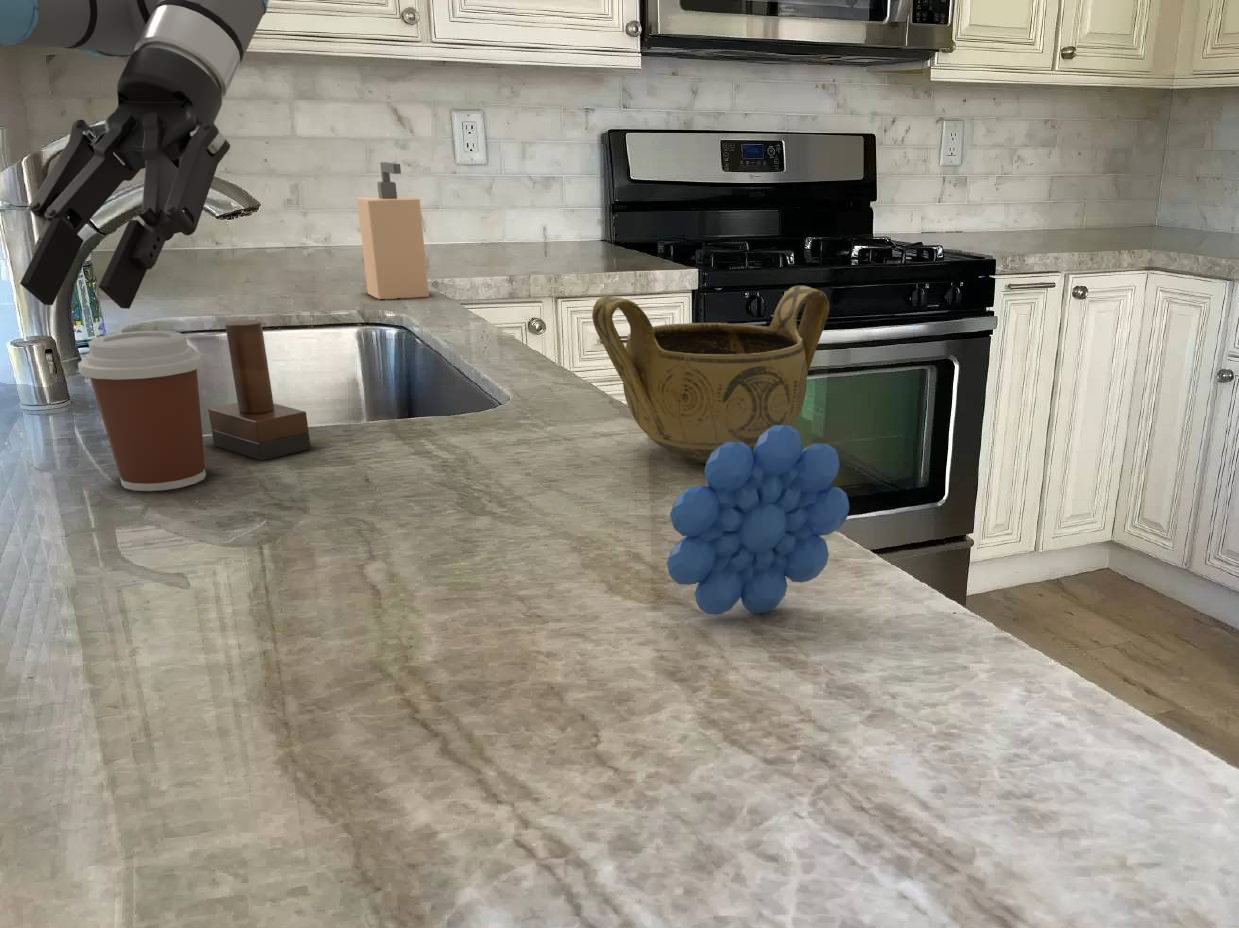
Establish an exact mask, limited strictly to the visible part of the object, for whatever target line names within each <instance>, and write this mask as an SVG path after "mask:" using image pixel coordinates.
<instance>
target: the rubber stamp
mask: <svg viewBox="0 0 1239 928" xmlns="http://www.w3.org/2000/svg"><path fill="white" fill-rule="evenodd" d="M224 326H225V333H226V337H227V338H226V339H227V345H228V352H229V357H230V365H231V369H232V376H233V383H234V389H235V393H236V401H237V402H235V403H229V404H224V405H219V406H214V407H209V408H207V412H208V416H209V417H208V418H209V423H210V429H211V435H212V439H213V440H212V441H213V445H214V447H217V448H220V449H223V450H227V451H230V452H232V453H236V454H240V455H243V456H245V457H249V458H251V459H256V460H258V461H268V460H272V459H275V458H279V457H284V456H288V455H292V454H296V453H301V452H304V451H309V450H311V449H312V446H311V440H310V433H309V424H308V416H307V411H305V410H301V409H297V408H293V407H289V406H286V405H285V406H284V405H281V404H277V403H274V398H273V390H272V384H271V383H272V382H271V378H270V371H269V365H268V356H267V351H266V344H265V336H264V331H263V323H262V321H261V320H258V319H239V320H231V321H227V322H225V324H224Z"/></svg>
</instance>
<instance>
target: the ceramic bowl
mask: <svg viewBox="0 0 1239 928" xmlns="http://www.w3.org/2000/svg"><path fill="white" fill-rule="evenodd" d="M804 305H805V306H804ZM803 307H804V309H803V312H802V316H801V319H800V323H799V324H798V321H797V319H798V316H799V313H800V311H801V310H802V308H803ZM617 309H619V310H620V311H621V313H622V314H623V315H624V317H625V319H626V321H627V323H628V325H629V328H630V329H629V330H630V333H628V334H627V337H626V344H624V343H623V341H622V339H621V336H620V335H619V333H618V331H617V328H616V326H615V324H614V321H613V316H614V313H615V312H616V310H617ZM829 313H830V301H829V299H828V297H827V296H826V293H824V292H823V291H822V290H819V289H816V288H813V287H811V286H806V285H795V286H794V285H793V286H792V287H790V288H789V289H788V290H787V291H786V292H785V293H784V294H783V295H782V297H781V298H780V300H779V302H778V304H777V306H776V307H775V310H774V312H773V315H772V320H771V322H770V324H769V325H768V326H764V325H755V324H746V323H728V322H688V323H687V322H686V323H671V324H669V323H668V324H660V325H654V326H653V325H652V323H651V321H650V319H649V317H648V315H647V314H646V313H645V311H644V310H642V308H641V307H640V306H639V304H637V303H636V302H634V301H633V300H630V299H627V298H623V297H616V296H609V295H605V296H602V297H599V298H598V299H597V300H596V301H595V303H594V306H593V307H592V313H591V314H592V315H591V317H592V318H591V319H592V322H593V326H594V329H595V332H596V334H597V335H598V337H599V339H600V341H601V344H602V345H603V347H604V349H605V351H606V353H607V355H608V357H609V359H610V361H611V363H612V366H613V367H614V369H615V371H616V373H617V374H618V376H619V378H620V380H621V382H622V386H623V387H622V388H623V394H624V396H625V401H626V404H627V407H628V410H629V411H630V414H631V416H632V417H633V420H634V421H635V422H636V424H637V425H638V427H639V428H640V429H641V430H642V431H643V433H644V434H645V435H647V436H648V438H649V439H650V440H651V441H653V442H654V443H655V444H657V445H658V446H659V447H661V448H662V449H664V450H666V451H667V452H669V453H670V454H672V455H675V456H678V457H680V458H682V459H685V460H687V461H691V462H694V463H700V464H705V465H706V464H707V460H708V459H709V457H710V455H711V453H712V452H713V451H714V450H715V449H716V448H718V447H719V446H721V445H722V444H724V443H726V442H743V443H745V444H746V445H747V446H748V447H750V448H751V450H752V454H753V451H754V447H755V444H756V442H757V440H758V439H759V437H760V436H761V435H762V434H763V433H764V432H765V431H766V430H768V429H769V428H771V427H773V426H775V425H786V426H792V427H794V425H795V423H796V421H797V419H798V417H799V415H800V413H801V410H802V407H803V405H804V403H805V399H806V393H807V383H808V373H809V371H810V368H811V365H812V362H813V359H814V356H815V354H816V350H817V348H818V345H819V342H820V340H821V337H822V334H823V331H824V328H825V326H826V323H827V320H828V316H829Z"/></svg>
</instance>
